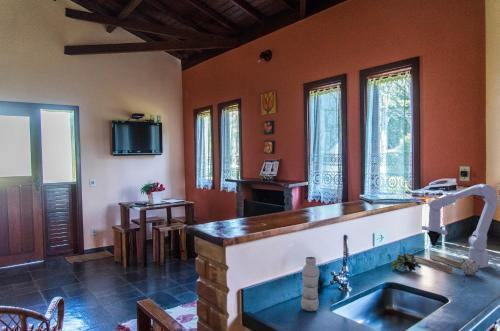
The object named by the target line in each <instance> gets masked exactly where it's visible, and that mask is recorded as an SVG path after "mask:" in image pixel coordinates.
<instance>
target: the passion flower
mask: <svg viewBox="0 0 500 331" xmlns="http://www.w3.org/2000/svg"><path fill="white" fill-rule="evenodd" d="M396 255H397V257H396V258H397V259H396V260H395V261H394V260H393V261H391V263H390V265H391V268H393V269H397V267H398V271H400V269H401V267H402V272H401V274H404V271H406V270H409V271H416V267H417V268H419V269H421V268H422V267H421V265H419V263H418V262H416V259H415V258H414V256H415V255H413V254H411V253H403V254H399V253H397V254H396Z"/></svg>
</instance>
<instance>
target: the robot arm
mask: <svg viewBox="0 0 500 331" xmlns="http://www.w3.org/2000/svg"><path fill="white" fill-rule="evenodd" d="M471 195H475V196H480V197H481V199H482V200H483V201H484V202H485V204H484V206H483V209H482V212H481V215H480V217H479V220H478V223H477V225H476V229H475V230H474V231H473V232H472V234H471V235H470V236H469V237H468V244H469V248H468V260H470V258H471V260H472V261H475V263H476V264H477V265H478V266H480V267H478V269H484V268H488V267H489V268H490V266H491V265H490V264H489V263H490V262H489V260H490V256H489V255H490V254H489V252H488V250H487V247H488V245H487V242H488V241H487V240H488V232H489V229H490V226H491V223H492V220H493V218H494V215H495V212H496V209H497V208H498V204H499V201H498V196H497V191H496V190H495V188H494V187H493V186H492V185H491V184H485V183H478V184H475V185H472V186H470V187H467V188H464V189H462V190H460V191H458V192H455V193H451V192H449V193H448V192H445V193H444V194H443V195H441V196H436V198H431V199H430V200H429V202H428V207H429V212H428V225H422V226H421V230H422V231H428V232H426V233H427V235H428V237H429V241H430V244H431V246H433V247H434V246H437V243H438V240H439V238H440V237H441V235H443V236H447V235H448V231H447V230H446V229H445V230H444V229H442V228H441V218H442V217H441V214H442V213H441V209H443V208H445V207H447V206H450V205H452V204H455V203H456V201H457V200H459V199H462V198H465V197H469V196H471Z"/></svg>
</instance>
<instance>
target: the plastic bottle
mask: <svg viewBox="0 0 500 331" xmlns="http://www.w3.org/2000/svg"><path fill="white" fill-rule="evenodd" d="M316 260H317V258H316V257H314V256H307V257H305V265H304V266H303V268H302V270H301V275H302V296H301V300H300V305H301V308H302V310H303V311H305V312H316V311H317V310H318V308H319V303H320V302H319V294H318V284H319V277H320V270H319V267H318V266H317V265H316V263H317V261H316Z"/></svg>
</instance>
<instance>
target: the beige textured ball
mask: <svg viewBox="0 0 500 331" xmlns="http://www.w3.org/2000/svg"><path fill="white" fill-rule="evenodd" d="M462 260H463V261H460V262H461V263H462V265H461V267H460V268H458V269H461V271H463V274H466V276H467V277H469V276H470V275H475V276H476V273H479V270H478V269H479V268H478V267H480V266H478V265H477V264H476V263H475V261H472V260H471V258H470V260H469V259H464V258H463V259H462Z"/></svg>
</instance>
